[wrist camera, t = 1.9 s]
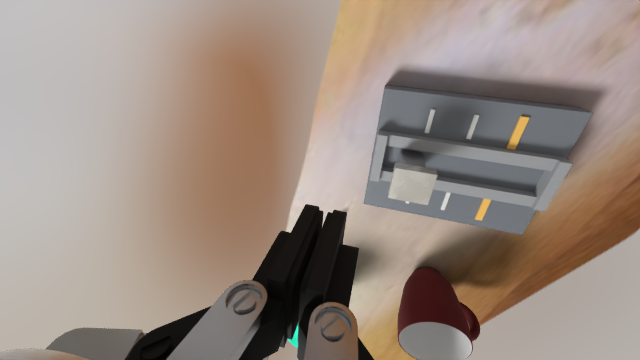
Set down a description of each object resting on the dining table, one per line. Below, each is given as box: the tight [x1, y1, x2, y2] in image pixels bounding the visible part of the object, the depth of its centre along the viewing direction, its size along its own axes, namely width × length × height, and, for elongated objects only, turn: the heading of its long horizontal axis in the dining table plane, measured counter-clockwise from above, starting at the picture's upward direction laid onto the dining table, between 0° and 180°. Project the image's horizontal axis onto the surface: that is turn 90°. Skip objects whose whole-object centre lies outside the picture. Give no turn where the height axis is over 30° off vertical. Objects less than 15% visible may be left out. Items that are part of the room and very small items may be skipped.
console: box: [364, 85, 593, 235], centre depth 29 cm, size 14×18×4 cm
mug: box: [398, 267, 480, 360], centre depth 35 cm, size 10×8×10 cm
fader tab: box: [388, 150, 437, 205], centre depth 27 cm, size 3×4×6 cm
